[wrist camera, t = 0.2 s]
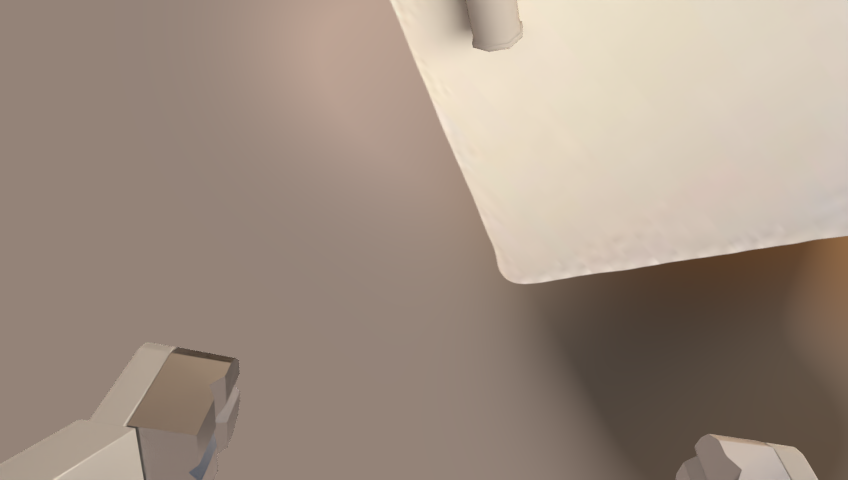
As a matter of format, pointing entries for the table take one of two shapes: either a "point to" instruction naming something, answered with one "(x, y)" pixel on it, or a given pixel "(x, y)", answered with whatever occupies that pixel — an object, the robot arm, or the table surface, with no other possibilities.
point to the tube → (494, 24)
